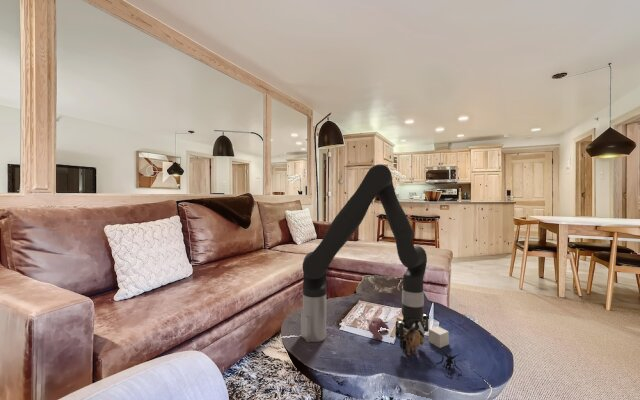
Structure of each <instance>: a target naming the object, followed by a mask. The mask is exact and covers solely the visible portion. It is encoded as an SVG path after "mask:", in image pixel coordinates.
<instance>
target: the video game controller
mask: <svg viewBox="0 0 640 400" xmlns="http://www.w3.org/2000/svg"><path fill="white" fill-rule="evenodd" d="M381 327H382V328H386V329H389V330H390V328H389V326H388V325H387V324H386V323H385V321H383V319H382V318H380V317H375V318H373V319H372V320H371V321H370V323H369V324H368V330H369V332H370V334H372V335H373V337H374V338H375V339H377V340H378V341H382V340H383V338H384V337H383V335H382V334H381V332H378V330H380V328H381ZM382 328H381V329H382Z"/></svg>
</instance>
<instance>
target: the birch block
mask: <svg viewBox="0 0 640 400" xmlns="http://www.w3.org/2000/svg"><path fill="white" fill-rule="evenodd" d="M402 320H403V315H402V314H401V315H397V316H396V321H399V322H400V321H402Z"/></svg>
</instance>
